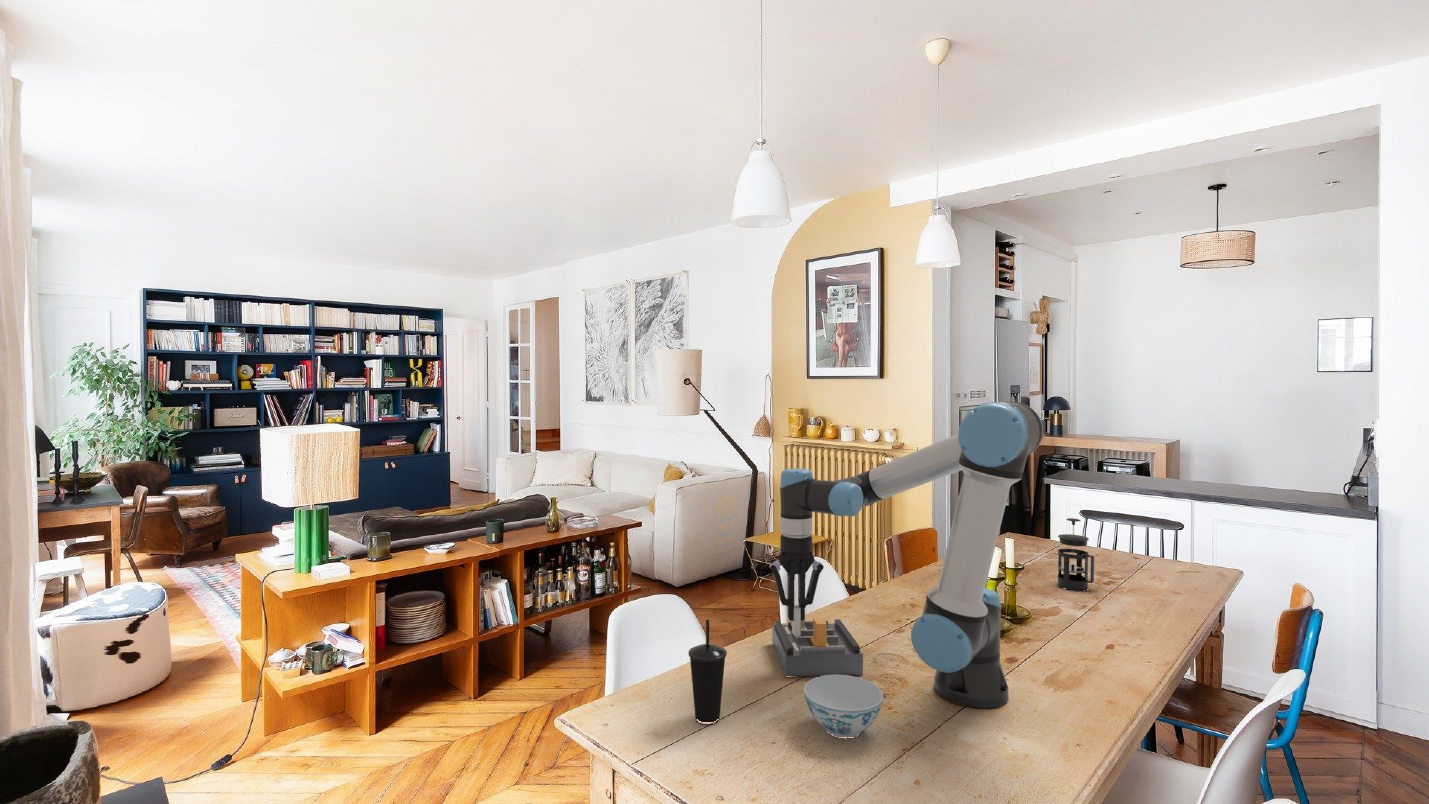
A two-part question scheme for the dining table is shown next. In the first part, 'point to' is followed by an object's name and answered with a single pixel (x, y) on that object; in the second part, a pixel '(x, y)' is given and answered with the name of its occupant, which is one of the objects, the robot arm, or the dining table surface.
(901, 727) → the dining table surface
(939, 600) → the robot arm
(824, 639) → the switch
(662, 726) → the dining table surface
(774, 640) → the grey compartment box
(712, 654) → the drinking cup
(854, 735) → the chinaware
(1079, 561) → the french press
